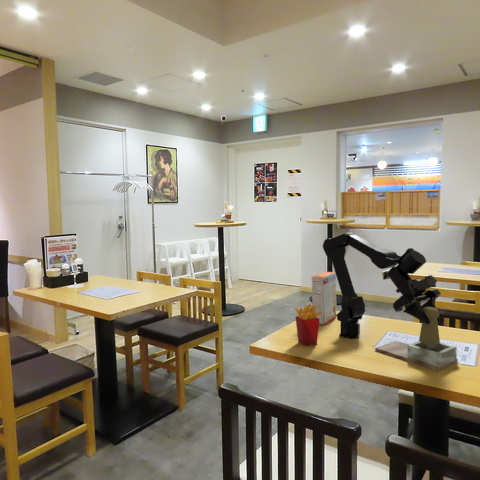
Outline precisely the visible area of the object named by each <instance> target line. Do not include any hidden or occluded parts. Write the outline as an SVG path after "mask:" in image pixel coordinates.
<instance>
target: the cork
mask: <svg viewBox="0 0 480 480" xmlns="http://www.w3.org/2000/svg"><path fill="white" fill-rule="evenodd" d="M422 310H423V311H424V313H425V314H426V316H427V317H428V319H429V321H430V324H428V325H427V324H426V323H424V322H422V321H421V327H420V332H419V339H418V341H420V342H421V343H424V344H429V345H438V344H440V343H441V340H440V333H439V324H438V323H439V321H438V322H437V318H438V317H439V318H440V312H439V309H438V308H437V307H436V308H433V307H424V308H423V309H422Z"/></svg>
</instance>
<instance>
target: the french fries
mask: <svg viewBox="0 0 480 480" xmlns="http://www.w3.org/2000/svg"><path fill="white" fill-rule="evenodd" d="M315 308H316V306H315V305H314V306H313V305H312V304H311V303H309V304H308V305H305V306H304V308H302V307H300V308H298V307H295V308H294V310H295V311H296V314H297V316H295V322H296V323H295V325H296V333H297V340H298V344H299V345H302V346H303V347H311V346H317V345H318V338H319V337H318V335H319V329H320V328H319V326H320V324H319V318H317V317H316V316H318V315H319V314H321V313H322V311H319V312H317V313H316V312H315Z"/></svg>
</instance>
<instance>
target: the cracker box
mask: <svg viewBox="0 0 480 480" xmlns="http://www.w3.org/2000/svg"><path fill="white" fill-rule="evenodd" d="M311 296H312V299H311V302H312V303H311V305H313V306H314V305H315V306H316V308H315V312H316V313H317V312H319V311H322V313H321V314H319V315H318V316H316V317H317V318H319V325H322V326H325V325H326V324H329V323H330V322H331V321H333V320H334V319H337V316H336V315H337V276H336V273H335V271H334V272H332V271H323V272H320V273H318V274H315V275H313V276H311Z"/></svg>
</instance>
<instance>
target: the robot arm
mask: <svg viewBox="0 0 480 480" xmlns="http://www.w3.org/2000/svg"><path fill="white" fill-rule="evenodd" d="M348 246H350V247H352V248H353V249H355V250H356V251H358V252H360V253H361V254H363V255H365V256H367V258H369V259H370V261H371V263H372V264H373V265H374V266H375V267H377V268H378V269H381V270H384V269H389V270H387V271H384V272H383V276H382V280H390V281H391V282H392V283H393V284H394V286H395V287H396V290H395V292H396V294H399V293H400V294H401V295H400V296H399V298H397V299H396V300H395V301H394V302H393V303H392V309H393V310H394V311H395V312H396V313H399V312H402V311H403V313H405V314H408V315H409V316H412V317H414V318H415V319H417V320H419V321H421V323H422V322H424V323H426V324H427V325H428V324H430V321H429V319H428V317H427V316H426V314H425V313H424V311H423V310H422V309H423V308H424V307H433V308H436V309H437V307H436V300H437V298H438V297H440V296H441V295H442V293H441V292H440V291H439V289H437V285H436V284H437V282H438V281H437V279H436V278H435V276H433V275H432V274H430V275H427V276H424V278H423V279H419V280H418V279H416V278H414V279H413V278H412V277H411V275H412V274H413V275H414V274H415V273H416V272H418V270H419V269H421V268H422V267H423V266H424V265H425V264H426V263H427V259H426V257H425V256H424V255H423V254H422V253H420V252H419V251H417V250H415V249H414V248H413V247H411V248H410V247H408V248H407V249H406V250H405V252H404V253H403V254H402V255H398V254H397V252H395V251H393V250H390V249H387V248H382V247H378V246H376V245H374V244H373V243H371V242H369V241H368V240H366V239H364V238H362V237H360V236H358V235H357V234H356V233H355V232H344V233H342V234H340V235H337V236H334V237H331V238H330V237H329V238H325V240H323V243H322V249H323V252H324V253H325V255H326V257H327V258H328V259H329V260H330V261H331V264H332V266H333V270H334V272H335V273H336V281H337V282H338V286H339V288H340V289H339V290H340V292H341V296H342V298H341V301H340V306H341V307H340V308H341V310H340V311H339V312H338V313H336V319H337V321H339V322H340V333H339V335H338V337H342V338H347V339H348V338H350V339H357V338H358V336H360V334H361V324H360V323H359V320H362V318H363V316H364V315H365V312H366V303H365V301H364V298H363V296H361V295H360V296H359V295H358V294H357V293H356V291H355V288H354V286H353V281H352V278H351V276H350V272H349V269H348V265H347V262H346V259H345V257H346V252H347V249H346V248H347V247H348ZM431 288H432V289H431ZM403 307H404V308H405V309H404V310H403ZM439 321H441V318H440V316H439V317H438V318H437V322H438V323H439Z"/></svg>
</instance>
